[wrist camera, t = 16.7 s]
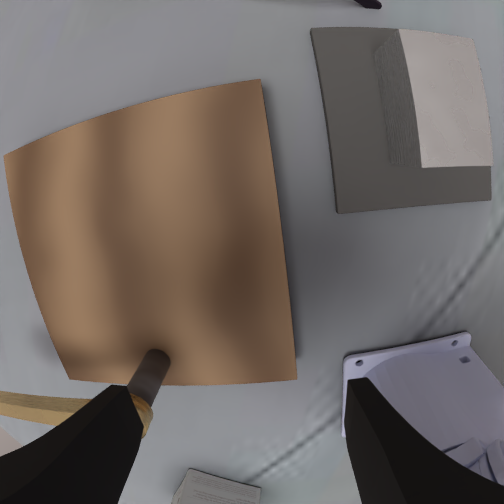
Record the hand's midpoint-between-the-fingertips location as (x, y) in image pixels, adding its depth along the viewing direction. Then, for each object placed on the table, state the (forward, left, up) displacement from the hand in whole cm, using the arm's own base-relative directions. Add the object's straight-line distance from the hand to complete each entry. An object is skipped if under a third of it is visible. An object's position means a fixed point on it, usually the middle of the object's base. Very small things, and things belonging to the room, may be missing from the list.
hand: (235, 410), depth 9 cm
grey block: (-10, -9, -9) cm, 16 cm away
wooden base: (+6, -3, -9) cm, 12 cm away
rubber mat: (-10, -9, -9) cm, 16 cm away
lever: (+12, +4, -3) cm, 13 cm away
